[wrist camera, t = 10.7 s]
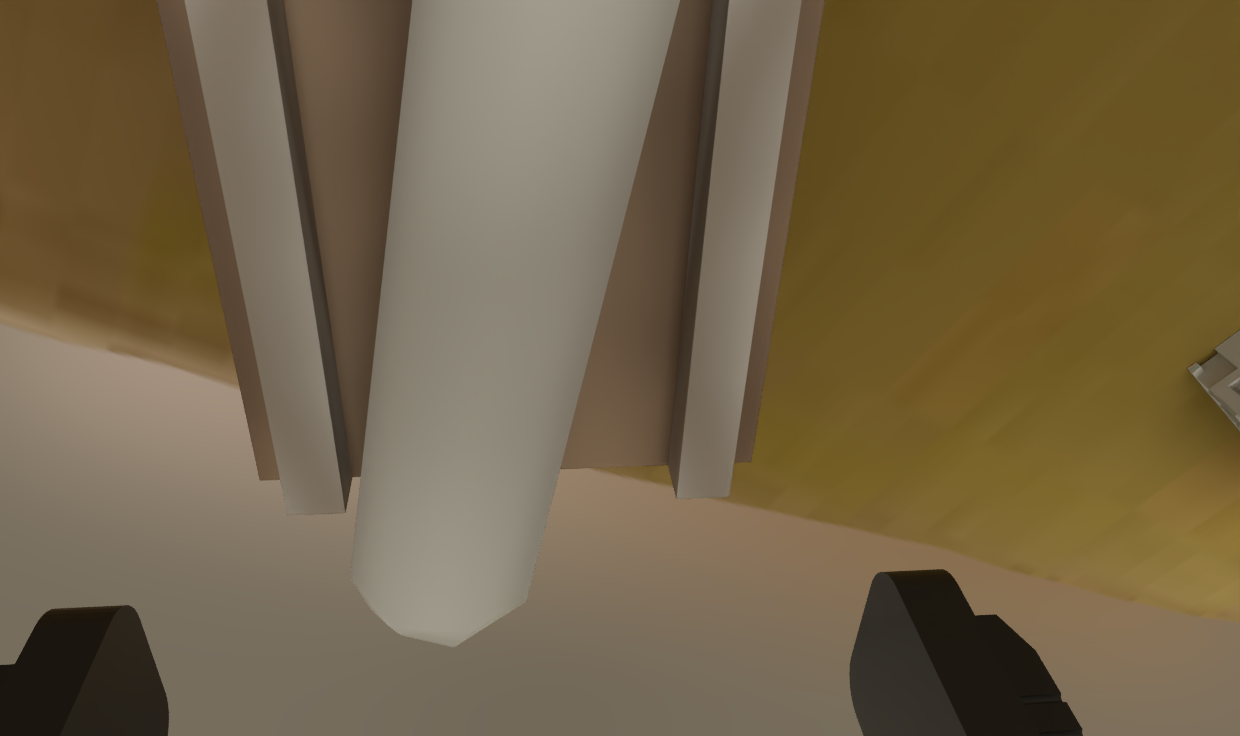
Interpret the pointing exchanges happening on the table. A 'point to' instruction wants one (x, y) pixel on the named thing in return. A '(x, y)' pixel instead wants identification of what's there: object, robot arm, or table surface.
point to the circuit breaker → (1223, 377)
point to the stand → (359, 213)
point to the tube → (493, 291)
